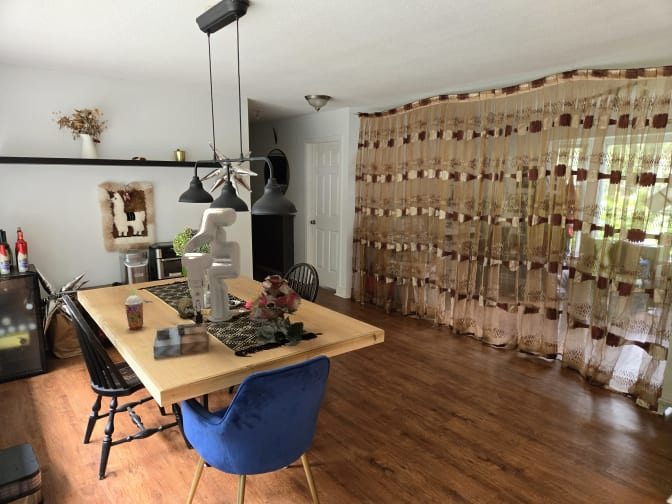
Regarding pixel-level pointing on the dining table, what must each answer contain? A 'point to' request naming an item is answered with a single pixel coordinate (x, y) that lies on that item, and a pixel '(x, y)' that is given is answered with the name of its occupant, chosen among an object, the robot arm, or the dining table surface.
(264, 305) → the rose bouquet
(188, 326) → the switch lever
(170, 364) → the dining table surface
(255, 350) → the dining table surface
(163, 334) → the lever switch panel
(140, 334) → the dining table surface
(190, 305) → the mineral specimen
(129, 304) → the smoothie
